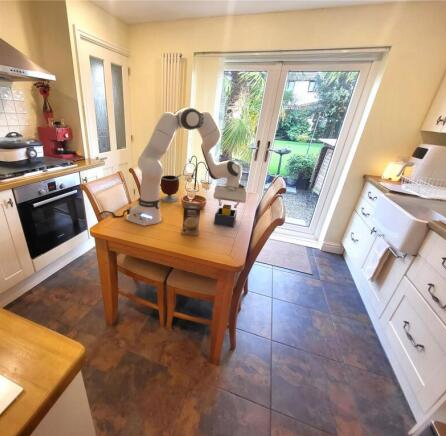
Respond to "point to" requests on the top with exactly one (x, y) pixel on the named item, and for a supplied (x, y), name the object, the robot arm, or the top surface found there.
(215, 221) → the case
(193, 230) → the coffee box
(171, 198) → the mate gourd
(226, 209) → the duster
